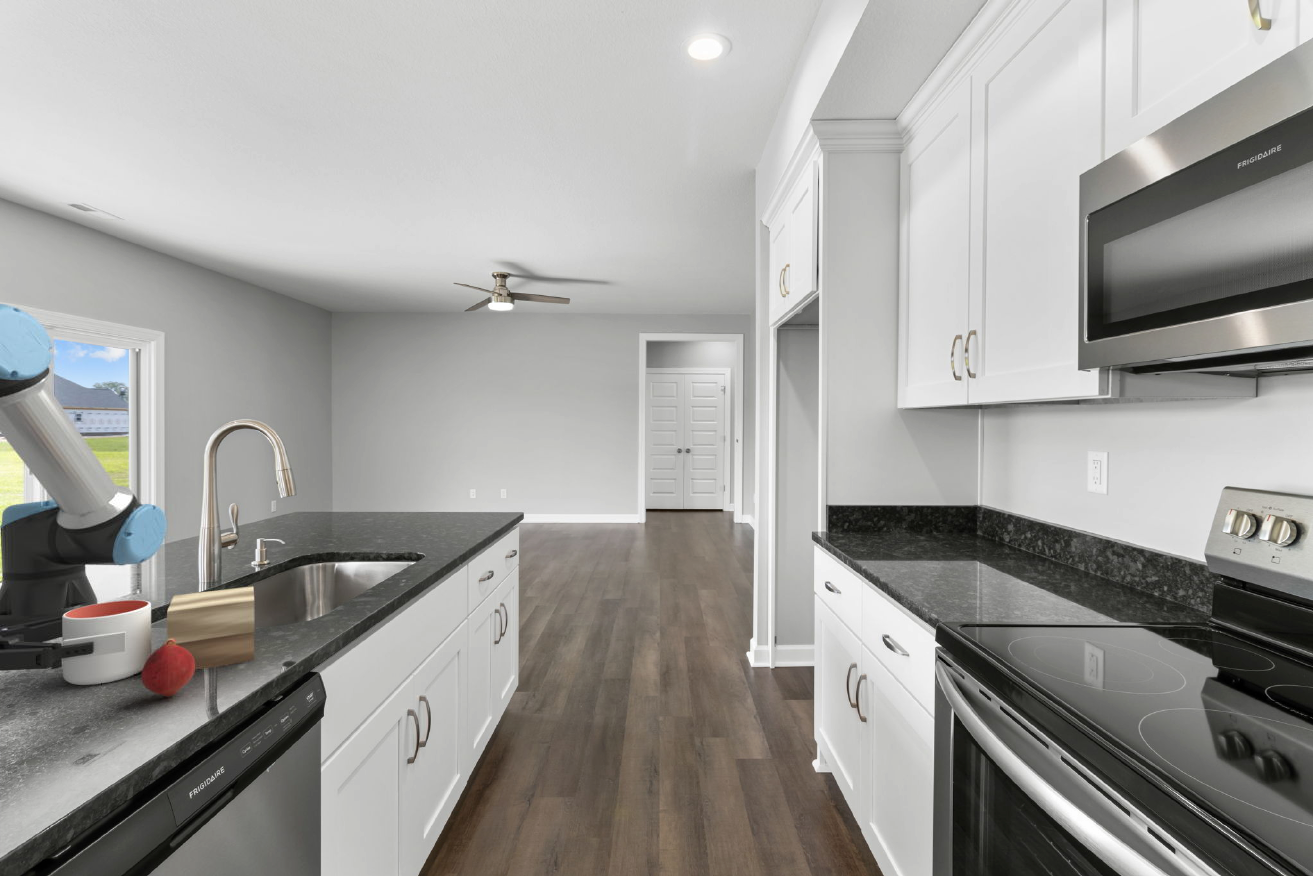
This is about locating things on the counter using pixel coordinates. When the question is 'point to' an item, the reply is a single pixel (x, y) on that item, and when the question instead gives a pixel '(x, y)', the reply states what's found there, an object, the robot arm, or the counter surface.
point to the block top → (210, 614)
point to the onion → (168, 669)
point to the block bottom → (221, 650)
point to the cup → (105, 621)
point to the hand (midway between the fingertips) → (131, 628)
